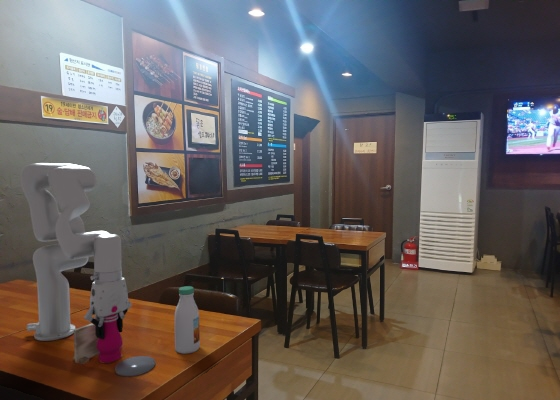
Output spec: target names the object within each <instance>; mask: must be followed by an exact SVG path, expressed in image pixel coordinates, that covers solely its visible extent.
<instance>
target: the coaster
mask: <svg viewBox="0 0 560 400" xmlns="http://www.w3.org/2000/svg"><path fill="white" fill-rule="evenodd" d="M155 367H156V360H155V358H153V357H151V356H146V355H145V356H144V355H139V356H138V355H137V356H132V357H128V358H126V359H123V360H121V361H120V362H118V363H117V364H116V365H115V368H114V372H115V373H116V374H117V375H118V376H121V377H136V376H140V375H144V374H146V373H149V372H151V370H153V368H155Z"/></svg>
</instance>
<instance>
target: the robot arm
mask: <svg viewBox="0 0 560 400" xmlns="http://www.w3.org/2000/svg"><path fill="white" fill-rule="evenodd" d="M19 179H20V185H21V189H22V192H23V194H24V197H25V198H26V200H27V203H28V205H29V206H28V207H29V211H30V212H29V213H30V219H31V224H32V230H33V234H34V237H35V239H36V240H37V241H38V242H45V243H46V242H53V241H57V242H58V243H55V244H50V245H49V244H48V245H44V246H41V247H39V248H37V249H36V250H35V251H34V252H33V255H32V262H33V263H32V264H33V267H34V271H35V275H36V285H37V286H36V288H37V303H38V304H37V305H38V322H36V323H34V322H33V323H27V325H26V329H27V332H32V331H34V339H35V340H37V341H41V342H45V341H46V342H49V341H56V340H61V339H64V338H67V337H69V336H71V335H74V329H76V328H77V327H76V325H74V324H71V306H70V305H71V304H70V284H69V280H68V279H67V278H66V277H65V276H64V275H63V274H62V272H63V271H67V270H72V269H77V268H81V267H83V266H85V265H86V264H87V263H88V261H89V258H90V257H93V266H94V268H93V270H94V271H93V275H91V276H90V280H91V281H93V282H92V285H91V290H90V298H89V309H88V310H87V312H86V314H85V315H84V316H83V319H84V320H86V321H88V322H89V323H90V324H92V323H93V324H94V325H95V333H96V337H97V338H100V339H104V326H103V325H102V324H103V320H104V317H106V316H109V315H113V314H116V313H118V319H117V328H118V331H119V333H120V334H121V333H123V327H124V326H123V325H124V321H123V320H124V319H125V315H126V314H127V313H128V311H129V309H130V308H131V307H132V306H133V303H132V302H131V301H129V295H128V287H127V283H126V278H125V277H123V271H122V270H123V269H122V268H123V267H122V264H123V263H122V259H123V258H122V238H121V236H120V235H119V234H116V233H113V234H112V233H110V232H108V231H105V230H94V231H88V232H86V228H85V224H84V221H83V219H82V218H81V215H83V214H85V212H87V210H89V208H90V206H91V201H90V199H89V198H88V195H87V194H86V192H91V191H93V190H95V188H96V186H97V180H98V179H97V176H96V174H95V172H94V171H93V170H92V169H91V168H90V167H88V166H83V165H78V164H73V163H52V162H51V163H49V162H37V163H31V164H27V165H25V166H23V168H22V170H21V171H20V177H19ZM48 188H51V190H52V192H53V194H52V193H51V192H50V191H49V190H47V189H48ZM59 207H60V210H61V212H60V211H59ZM113 305H115V306H116V305H117V308H118V309H117V311H116V312H114V313H112V311H111V310H112V306H113ZM113 307H114V306H113ZM93 316H94V317H93Z"/></svg>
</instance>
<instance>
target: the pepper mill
mask: <svg viewBox="0 0 560 400" xmlns="http://www.w3.org/2000/svg"><path fill="white" fill-rule="evenodd" d="M113 306H114V307H113ZM113 306H112V310H111V311H112V313H114V312H116V311H117V309H118V308H117V305H116V306H115V305H113ZM117 319H118V313H116V314H113V315H109V316H106V317H104V320H103V324H102V325H103V326H104V339H100V338H98V341H97V350H98V351H99V352H100V353H99V354H98V361H99V362H100V363H104V364H107V363H108V364H109V363H114V362H115V361H116V362H117V361H118V360H119V359H121V357H122V350H121V349H122V348H121V346H123V337H122V334H121V333H120V332H119V331H118V328H117Z"/></svg>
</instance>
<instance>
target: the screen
mask: <svg viewBox="0 0 560 400" xmlns="http://www.w3.org/2000/svg"><path fill="white" fill-rule="evenodd" d="M97 341H98V338H97V337H96V333H95V325H94V324H93V323H89V324H86V325H83V326H79V327H76V329H74V333H73V343H74V344H73V345H74V355H73V357H72V360H73V361H74V362H75V363H77V364H79V363H80V364H82V365H83V364H86V363H89V362H90V361H89V360H90V359H91V358H93V357H95V356H99V353H100V352H99V351H98V350H97ZM122 346H123V345H122ZM122 346H121V348H120V349H122V348H123V347H122Z"/></svg>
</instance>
